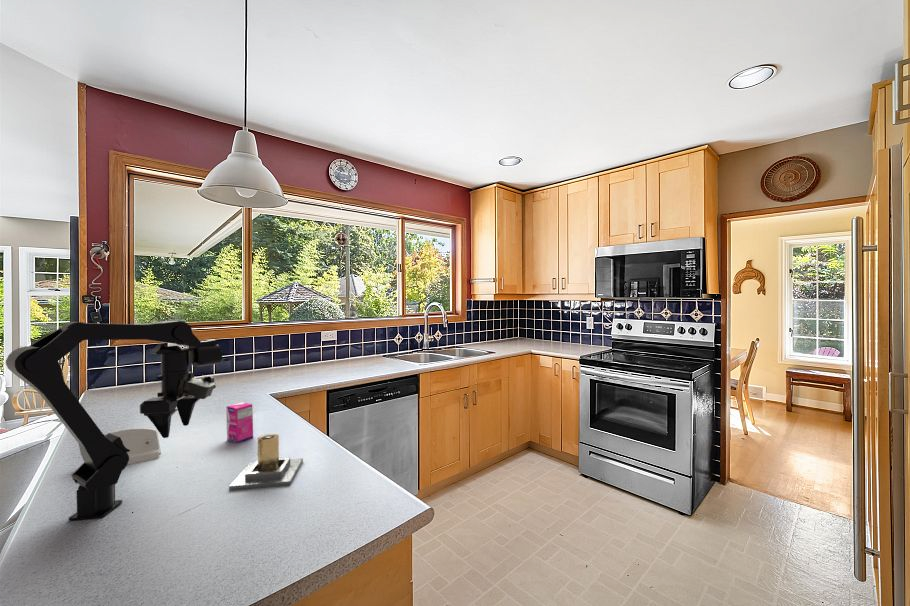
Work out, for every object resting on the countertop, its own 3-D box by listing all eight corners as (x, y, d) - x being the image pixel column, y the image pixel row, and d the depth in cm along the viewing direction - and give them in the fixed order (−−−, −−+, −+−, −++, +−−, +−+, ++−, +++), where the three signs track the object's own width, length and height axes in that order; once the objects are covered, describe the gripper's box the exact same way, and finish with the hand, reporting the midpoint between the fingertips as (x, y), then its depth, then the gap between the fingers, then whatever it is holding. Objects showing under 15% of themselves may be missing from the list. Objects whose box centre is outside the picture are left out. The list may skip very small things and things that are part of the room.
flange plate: (289, 485, 96) (289, 475, 96) (229, 490, 93) (228, 480, 93) (302, 461, 109) (302, 453, 109) (250, 465, 107) (250, 456, 107)
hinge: (82, 473, 103) (84, 435, 106) (85, 473, 107) (87, 436, 110) (160, 457, 113) (160, 423, 116) (161, 458, 117) (161, 424, 120)
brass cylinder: (269, 476, 98) (268, 441, 98) (253, 474, 100) (253, 439, 100) (283, 468, 103) (282, 434, 103) (268, 466, 105) (267, 432, 104)
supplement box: (226, 440, 127) (225, 406, 127) (243, 434, 132) (242, 401, 132) (236, 443, 124) (236, 408, 124) (254, 437, 129) (253, 403, 129)
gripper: (190, 375, 90) (192, 442, 90) (225, 362, 108) (226, 418, 108) (137, 377, 88) (138, 445, 88) (181, 364, 106) (182, 420, 107)
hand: (176, 431), depth 98 cm, fingers open, 9 cm apart
